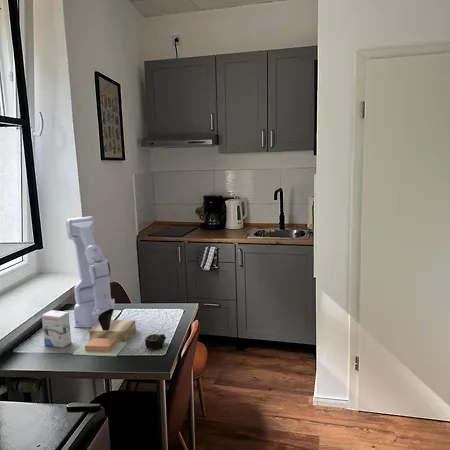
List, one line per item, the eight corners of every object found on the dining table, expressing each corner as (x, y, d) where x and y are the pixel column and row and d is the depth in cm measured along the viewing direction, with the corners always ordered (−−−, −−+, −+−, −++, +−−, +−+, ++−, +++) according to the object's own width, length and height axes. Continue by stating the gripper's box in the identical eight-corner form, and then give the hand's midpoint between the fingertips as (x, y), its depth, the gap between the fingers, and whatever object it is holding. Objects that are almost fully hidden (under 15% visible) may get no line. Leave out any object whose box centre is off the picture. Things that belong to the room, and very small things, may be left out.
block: (92, 338, 151) (93, 343, 151) (84, 345, 145) (85, 351, 145) (116, 338, 149) (116, 343, 150) (108, 346, 144) (109, 351, 144)
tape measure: (162, 351, 143) (162, 341, 143) (143, 351, 144) (142, 341, 143) (166, 342, 150) (165, 332, 150) (147, 342, 151) (147, 333, 150)
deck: (90, 340, 154) (89, 330, 154) (102, 329, 164) (101, 319, 163) (125, 341, 152) (124, 331, 151) (135, 330, 162) (135, 320, 161)
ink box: (44, 345, 152) (40, 315, 150) (53, 339, 157) (50, 309, 155) (63, 348, 149) (59, 317, 147) (72, 341, 154) (69, 311, 152)
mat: (72, 354, 144) (72, 354, 144) (86, 341, 153) (86, 341, 153) (116, 356, 141) (116, 355, 141) (127, 343, 151) (127, 342, 151)
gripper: (104, 301, 142) (107, 338, 144) (121, 287, 156) (124, 321, 158) (84, 301, 143) (88, 338, 145) (103, 287, 157) (106, 321, 159)
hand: (106, 329), depth 152 cm, fingers closed
